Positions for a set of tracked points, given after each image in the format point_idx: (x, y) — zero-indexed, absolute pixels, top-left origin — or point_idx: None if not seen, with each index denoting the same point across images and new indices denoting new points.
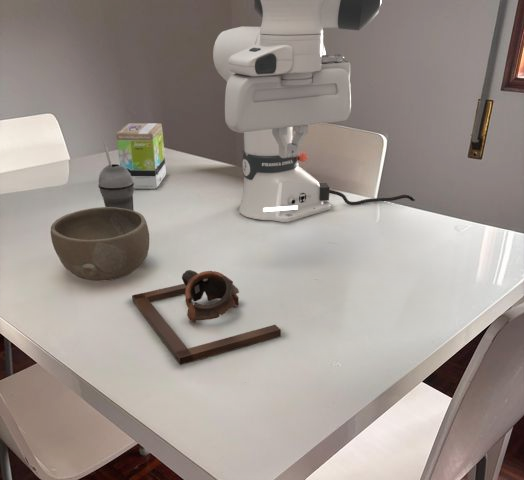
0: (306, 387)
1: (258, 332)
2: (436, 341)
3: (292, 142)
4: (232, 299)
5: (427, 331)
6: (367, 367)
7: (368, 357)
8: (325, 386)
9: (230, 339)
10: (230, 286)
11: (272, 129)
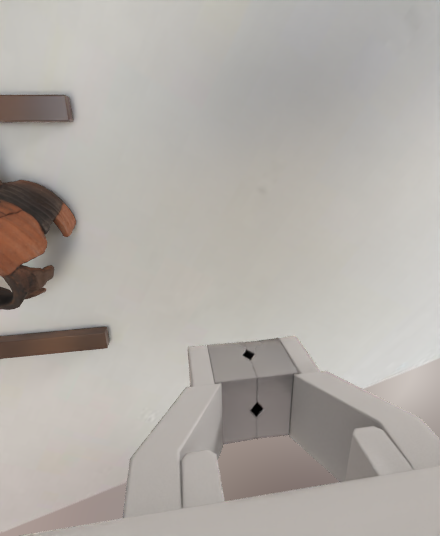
0: (93, 442)
1: (70, 344)
2: None
3: (295, 390)
4: (32, 295)
5: None
6: None
7: None
8: (115, 445)
9: (19, 347)
10: (21, 298)
11: (125, 503)
